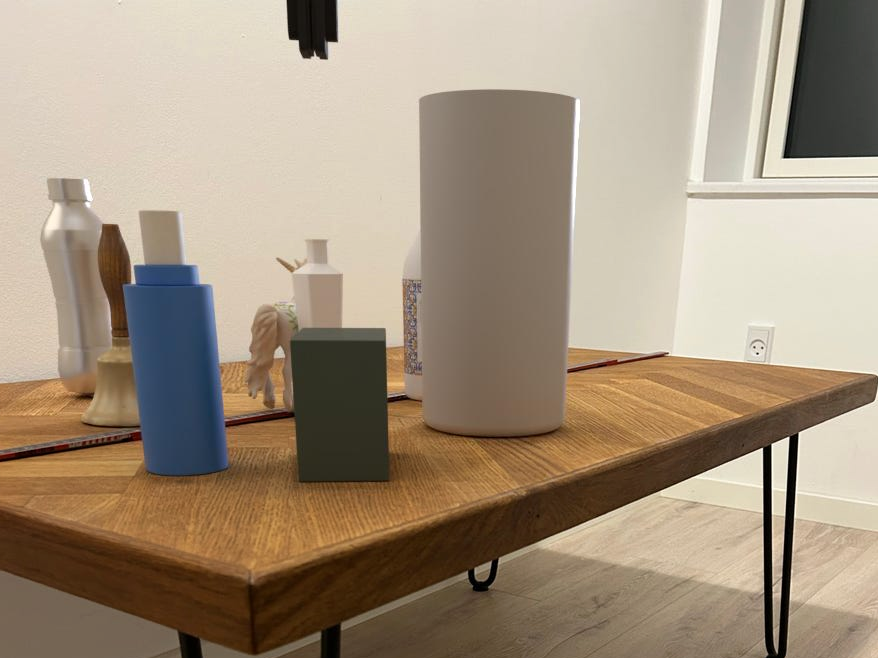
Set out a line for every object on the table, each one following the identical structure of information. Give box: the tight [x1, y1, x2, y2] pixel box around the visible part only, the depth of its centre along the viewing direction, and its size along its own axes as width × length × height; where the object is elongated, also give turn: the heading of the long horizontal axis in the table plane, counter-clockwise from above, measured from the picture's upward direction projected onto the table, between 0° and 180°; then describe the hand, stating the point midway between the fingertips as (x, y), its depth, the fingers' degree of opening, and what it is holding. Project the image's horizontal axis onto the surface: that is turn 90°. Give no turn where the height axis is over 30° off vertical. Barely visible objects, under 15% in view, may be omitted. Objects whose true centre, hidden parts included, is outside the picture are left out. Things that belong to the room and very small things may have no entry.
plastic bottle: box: [39, 177, 112, 397], centre depth 93 cm, size 6×7×20 cm
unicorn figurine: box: [244, 256, 307, 414], centre depth 90 cm, size 7×20×13 cm, turn 1°
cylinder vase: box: [418, 88, 581, 438], centre depth 78 cm, size 12×12×25 cm
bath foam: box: [401, 230, 422, 402], centre depth 95 cm, size 7×7×20 cm
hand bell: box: [80, 223, 140, 427], centre depth 81 cm, size 8×8×16 cm
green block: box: [290, 327, 390, 483], centre depth 66 cm, size 6×10×9 cm, turn 5°
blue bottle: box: [123, 209, 230, 477], centre depth 63 cm, size 12×6×16 cm
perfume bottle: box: [290, 238, 344, 331], centre depth 84 cm, size 5×4×15 cm
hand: (314, 54), depth 59 cm, fingers closed
